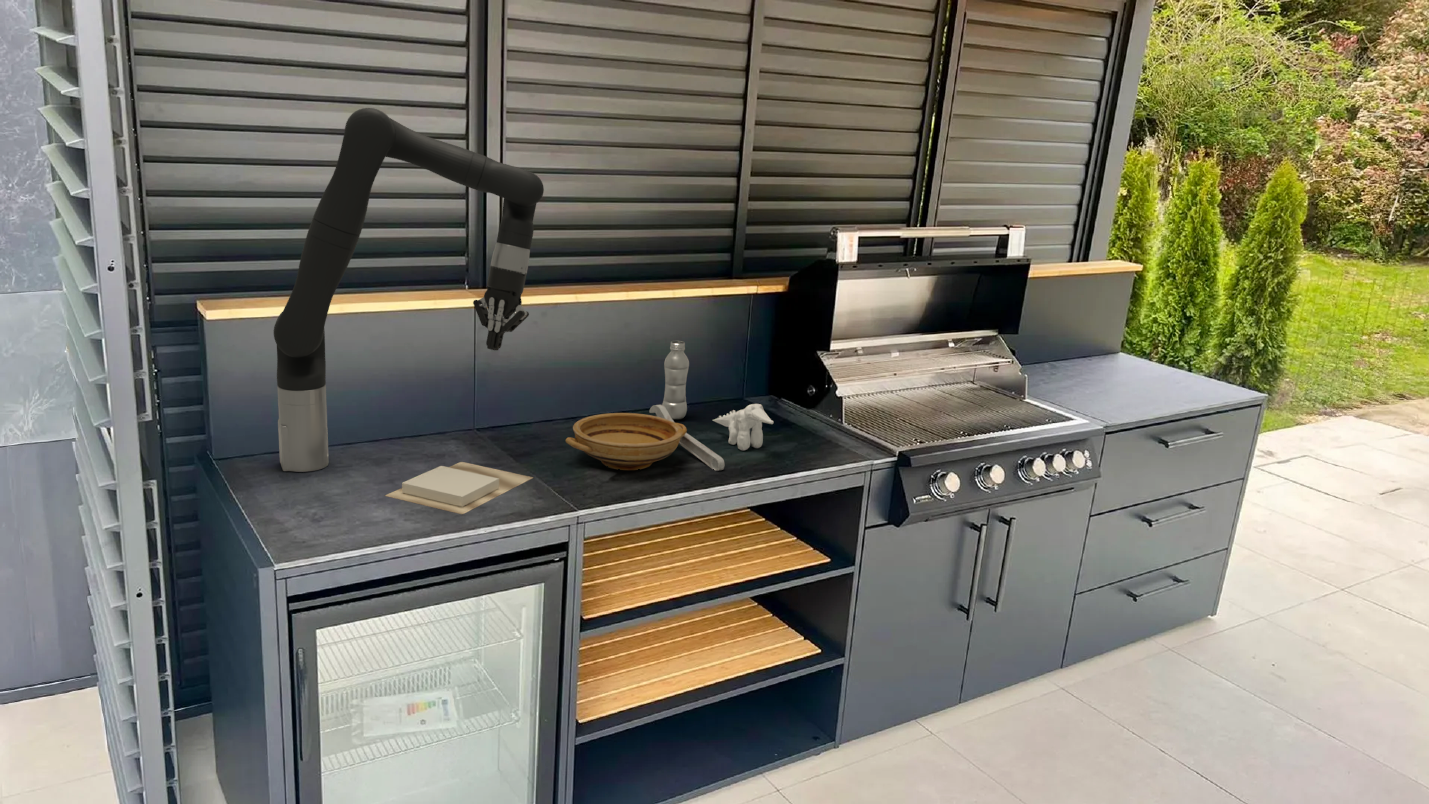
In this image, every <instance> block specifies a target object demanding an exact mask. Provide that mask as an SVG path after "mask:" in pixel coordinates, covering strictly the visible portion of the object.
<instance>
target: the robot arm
mask: <svg viewBox="0 0 1429 804" xmlns="http://www.w3.org/2000/svg"><path fill="white" fill-rule="evenodd" d="M343 133H344V134H343V137H342V141H341V147H340V150H339V154H338V158H337V162H336V166H335V169H334V171H333V174H332V176H331V178H330V181H329V182H328V184H327V186H326V188H325V190H324V191H323V194H322V196H321V198H320V201H319V203H318V204H317V206H316V210H315V211H314V214H313V217H312V219H311V223H310V225H309V227H308V231H307V234H306V237H305V241H304V244H303V248H302V251H301V255H300V261H299V265H298V270H297V274H296V275H297V276H296V279H295V283H294V286H293V289H292V291H291V293H290V296H289V297H288V300H287V302H286V303H285V304H286V305H285V306H284V308H283V311H281V313H280V314H279V315H278V317H277V318H276V321H275V323H274V326H273V339H274V341H275V344H276V361H277V362H276V363H277V364H276V365H277V366H276V386H277V404H278V406H277V407H278V419H277V429H278V451H279V463H280V466H281V468H282V471H283V472H295V473H296V472H299V473H302V472H303V473H304V472H305V473H307V472H314V471H318V470H321V469H322V470H323V469H324V468H326V467H327V466H329V454H330V453H329V439H328V437H329V434H328V432H329V431H328V407H327V385H326V384H327V382H326V381H327V380H326V378H327V377H326V371H327V370H326V367H327V365H326V364H327V362H326V336H325V334H326V333H325V325H326V322H327V319H328V317H327V316H328V313H329V310H330V307H331V303H332V300H333V296H334V294H335V292H336V290H337V288H338V287H339V284H340V283H341V280H342V279H343V277H344V275H345V272H346V271H347V268H348V266H349V264H350V262H351V259H352V258H353V256H354V253H355V250H356V248H357V245H358V242H359V238H360V236H361V234H362V230H363V226H364V223H365V219H366V217H367V216H366V215H367V211H368V206H369V201H370V197H371V191H372V187H373V185H374V182H375V179H376V177H377V175H378V172H379V170H380V168H381V166H382V164H383V163H384V160H385V158H390V159H395V160H399V161H402V162H406V163H409V164H412V165H415V166H418V167H420V168H423V169H424V170H427V171H430V173H433V174H435V175H438V176H439V177H442V178H444V179H447V180H449V181H452V182H454V183H455V184H456V183H457V184H458V185H462V186H464V187H468V188H470V189H472V190H476V191H479V192H482V193H487V194H492V195H495V196H498V197H500V198H502V199H503V201H502V202H503V203H502V212H501V213H502V215H501V221H500V224H499V227H498V232H497V238H496V243H495V246H494V249H493V252H492V256H491V260H490V261H491V262H490V267H489V271H488V277H487V283H486V285H487V286H486V287H487V289H486V291H485V292H484V294H483V297H481V298H480V299H473V301H472V305H473V307H474V308H475V312H476V314H477V317H478V319H479V321H480V324H481V326H482V327H485V328H487V330H488V332H487V338H486V342H485V343H486V344H485V345H486V346H487V350H491V351H499V349H501V347H502V345H503V339H504V335H505V333H512V332H513V331H514V330H515V329H517V327H519V326H520V325H521V324H522V323H523V322H524V321H525V320H526V319H527V318H528V317H529V315H530V312H529V311H526V310H525V309H524V307H523V306H522V303H523V301H522V295H523V293H524V290H525V289H524V288H525V284H526V280H527V274H528V269H529V263H530V253H531V247H532V242H533V236H534V231H535V230H534V228H535V227H534V223H533V222H534V218H535V212H536V209H537V203H539V202H540V201H541V199H542V198H543V195H544V191H545V189H544V184H543V181H542V180H541V178H540V177H539V176H538V175H537V174H536V173H534V172H531V171H529V170H527V169H524V168H519V167H517V166H514V165H510V164H507V163H503V162H499V161H497V160H494V159H493V158H491V157H488V156H486V155H484V154H480V153H478V152H475V151H473V150H470V149H467V148H464V147H461V146H457V145H456V144H455V145H454V144H452V143H448V142H445V141H442V140H439V139H436V138H433V137H430V136H428V135H424V134H422V133H420V132H418V131H415V130H414V129H411V128H409V127H406V126H405V125H403V124H402V123H400V122H398V121H396V120H394V119H393V118H391V117H389V116H388V115H387V114H386V113H385V112H384V111H382V110H380V109H377V108H374V107H365V108H364V107H362V108H360V109H358V110H356V111H354V112H353V113H352V114H350V115H349V117H348V118H347V121H346V123H345V127H344V131H343Z"/></svg>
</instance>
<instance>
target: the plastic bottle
mask: <svg viewBox="0 0 1429 804" xmlns="http://www.w3.org/2000/svg"><path fill="white" fill-rule="evenodd" d="M669 349H670V352H669V353H668V354H667V355H666V357H665V360H664V365H663V367H664V377H665V378H664V379H665V380H664V382H665V385H664V393H663V394H664V396H663V401H662V403H661V405H663V406H664V407H665V408H666V410H667V412H668V413H669V415H670V417H671V418H672V420H682V419H684V417H685V416H686V415H687V411H688V407H687V406H688V405H687V397H686V394H687V392H686V386H687V377H688V373H689V367H690V361H689V358H688V356H687V355H686V353H685V350H686V343H685V341H682V340H672V341H670V347H669Z"/></svg>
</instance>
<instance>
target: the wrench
mask: <svg viewBox="0 0 1429 804" xmlns="http://www.w3.org/2000/svg"><path fill="white" fill-rule="evenodd" d="M654 413H655V416H656V417H660V418H664V419H667V420H670V421H672V422H674V423H676V422H675V421H674V419H672V418H671V417H670V415H669V413H668V412H667V410H666V408H665V407H664V406H663V405H662V404H656V405H652V406H651V407H650V409H649V414H654ZM678 445H680V446H681V447H683V448H684V449H685V450H687V451H688V452H689V453H690V454H692V455H693V456H695V457H696V458H698V459H699V460H700V461H701V462H702V463H703V464H705V465H706V466H707V467H709V468H710V469H712V470H713V469H714V471H715V472H719V471H723V470H724V469H725V466H726V465H725V460H724V458H723V457H722V456H721V455H719V454H717V453H716V452H715V451H713V450H712V449H710V448H709V447H708V446H706V445H705V444H703V443H701V442H700V441H699V440H697V439H696V438H694V437H693V436H692V435H690V434H689V433H687V432H686V434H685V435H684V436H683V437H682V438H680V442H679V444H678Z"/></svg>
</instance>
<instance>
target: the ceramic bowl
mask: <svg viewBox="0 0 1429 804" xmlns="http://www.w3.org/2000/svg"><path fill="white" fill-rule="evenodd" d="M674 422H675V421H674ZM674 422H672V421H670V420H667V419H664V418H660V417H657V416H656V415H650V414H643V413H634V412H633V413H632V412H614V413H613V412H612V413H611V412H610V413H601V414H595V415H590V416H586V417H583V418H581V419H579V420H578V421H576V422H574V424H573V425H572V430H573V433H574V437H570V436H569V437H567V438H566V439H565V443H566V444H567V445H569V446H571V447H572V448H574V449H577V450H579V451H582V452H584V453H585V454H586V455H587V456H590V457H592V458H593V459H596V460H598V461H601V463H602V464H603V466H606V467H607V466H608V467H607V468H610V469H614V470H618V469H620V471H639V470H638V469H640V470H644V469H647V468H649V467H651V466H652V464H653V463H655V462H657V461H661V460H664V459H665V458H668V457H669V456H671V455H672V454H673V453H674V452H675V450H676V449H677V447H678V446H679V445H680V444H679V442H680V438H682V437H683V436H684V435H685V434H686V433H687V431H688V429H687V427H686V425H684V424H682V423H679V422H675V423H674Z"/></svg>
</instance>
